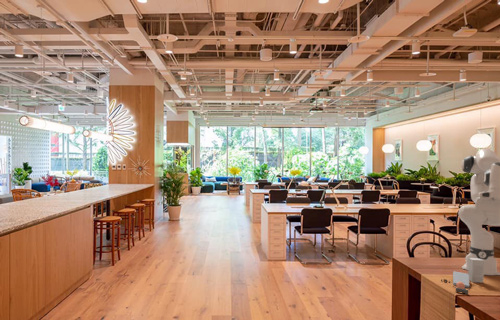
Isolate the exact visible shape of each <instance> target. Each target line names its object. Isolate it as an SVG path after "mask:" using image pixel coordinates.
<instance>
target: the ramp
mask: <svg viewBox="0 0 500 320" xmlns="http://www.w3.org/2000/svg"><path fill="white" fill-rule="evenodd" d="M458 282H462V283H464V285H465V288H466V289H469V288H470V281H469V275H468V272H467V273H465V272H459V271H456V270H455V271H452V285H453V286H456V284H457V283H458Z"/></svg>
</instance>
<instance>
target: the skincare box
mask: <svg viewBox="0 0 500 320" xmlns="http://www.w3.org/2000/svg"><path fill="white" fill-rule="evenodd" d="M467 274H468V275H469V282H472V283H482V284H483V283H484V277H485V275H484V260H482V259H480V258H469V263H468V270H467Z"/></svg>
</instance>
